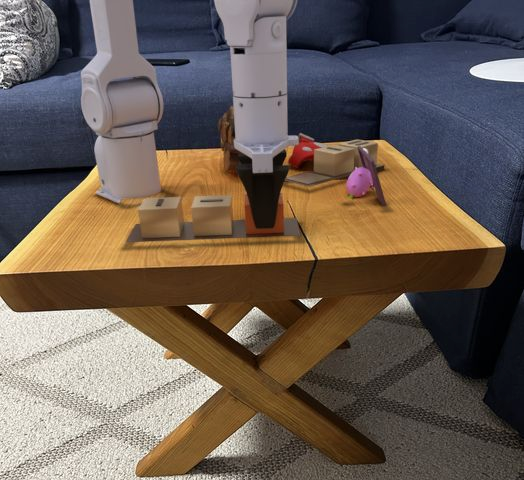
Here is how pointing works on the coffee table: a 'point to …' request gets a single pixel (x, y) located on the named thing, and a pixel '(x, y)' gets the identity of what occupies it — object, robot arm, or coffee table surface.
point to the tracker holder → (304, 150)
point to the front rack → (195, 221)
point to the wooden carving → (228, 140)
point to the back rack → (336, 163)
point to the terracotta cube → (252, 229)
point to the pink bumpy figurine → (364, 178)
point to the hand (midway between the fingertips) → (264, 220)
